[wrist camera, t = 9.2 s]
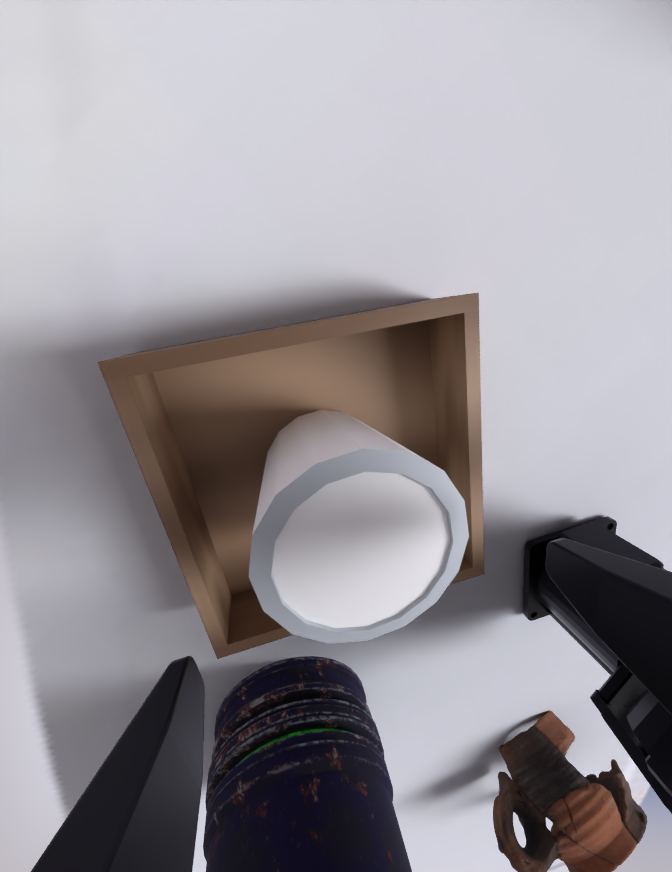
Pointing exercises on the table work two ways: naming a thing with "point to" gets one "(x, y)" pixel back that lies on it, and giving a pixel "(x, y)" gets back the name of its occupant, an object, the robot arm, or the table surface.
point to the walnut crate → (273, 410)
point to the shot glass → (351, 531)
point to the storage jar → (300, 776)
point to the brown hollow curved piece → (562, 806)
